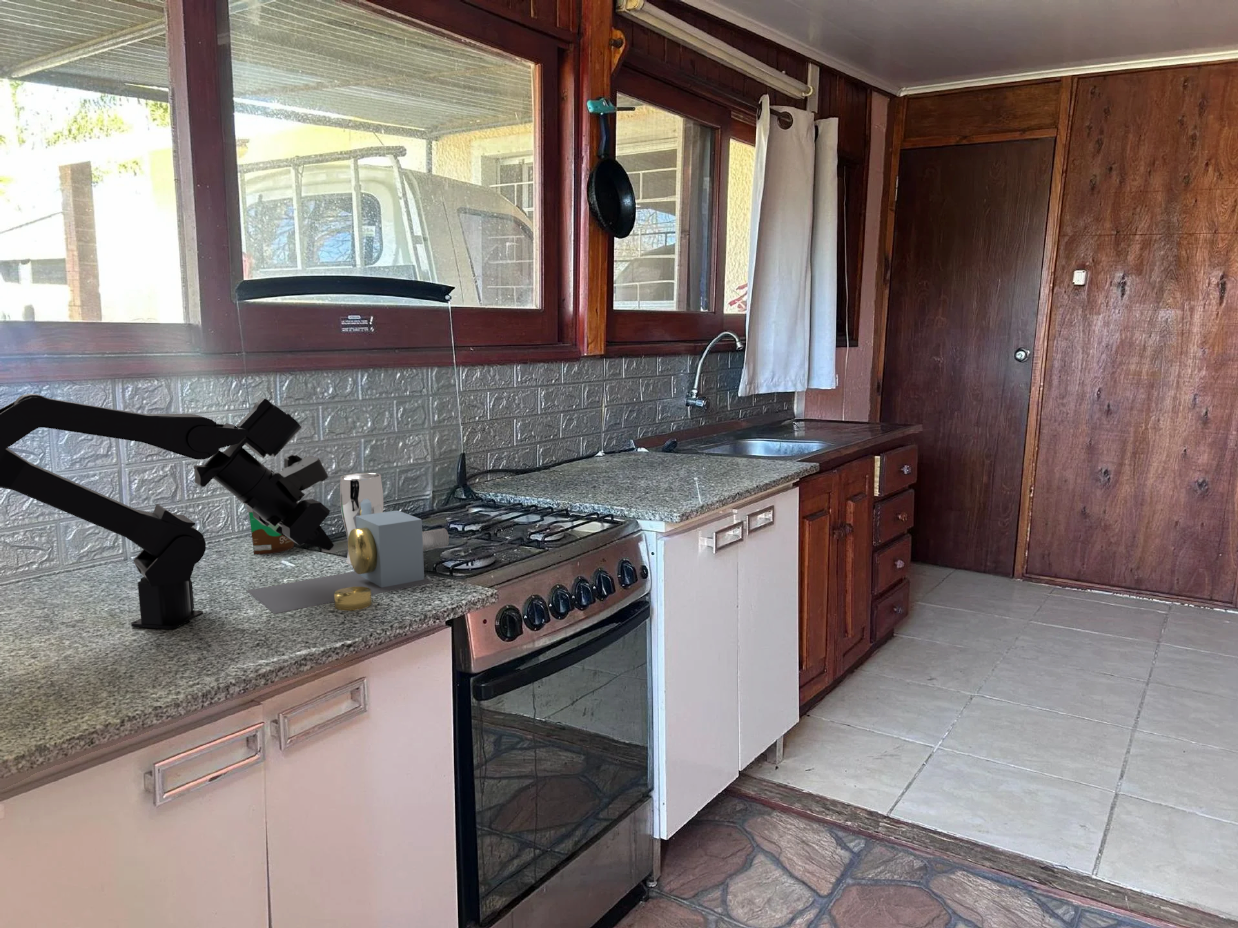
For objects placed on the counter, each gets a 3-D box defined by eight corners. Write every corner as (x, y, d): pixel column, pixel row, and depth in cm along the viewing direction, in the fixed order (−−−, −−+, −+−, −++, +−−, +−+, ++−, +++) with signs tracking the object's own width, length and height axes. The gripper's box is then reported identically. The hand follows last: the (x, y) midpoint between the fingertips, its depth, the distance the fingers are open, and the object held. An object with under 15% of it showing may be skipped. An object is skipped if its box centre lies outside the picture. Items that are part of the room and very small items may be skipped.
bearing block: (381, 587, 132) (378, 525, 130) (359, 574, 139) (355, 516, 137) (424, 579, 136) (421, 519, 135) (400, 567, 143) (397, 510, 142)
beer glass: (392, 557, 151) (388, 472, 149) (377, 568, 144) (373, 479, 142) (353, 557, 152) (349, 472, 149) (336, 567, 145) (331, 479, 142)
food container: (285, 556, 152) (281, 500, 151) (250, 556, 152) (246, 500, 151) (311, 540, 164) (308, 488, 163) (278, 540, 164) (275, 488, 163)
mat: (274, 616, 120) (274, 613, 120) (246, 592, 131) (245, 590, 131) (433, 584, 134) (433, 582, 134) (396, 566, 145) (396, 563, 145)
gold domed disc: (361, 615, 121) (361, 597, 120) (328, 613, 122) (327, 595, 121) (377, 604, 126) (377, 587, 125) (345, 602, 126) (344, 585, 126)
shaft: (366, 578, 131) (364, 533, 130) (349, 568, 137) (347, 525, 136) (455, 562, 140) (454, 520, 139) (435, 553, 146) (434, 513, 145)
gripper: (312, 445, 118) (391, 516, 126) (270, 433, 133) (344, 497, 141) (254, 508, 114) (340, 577, 123) (218, 489, 129) (297, 551, 137)
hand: (331, 547), depth 131 cm, fingers closed
